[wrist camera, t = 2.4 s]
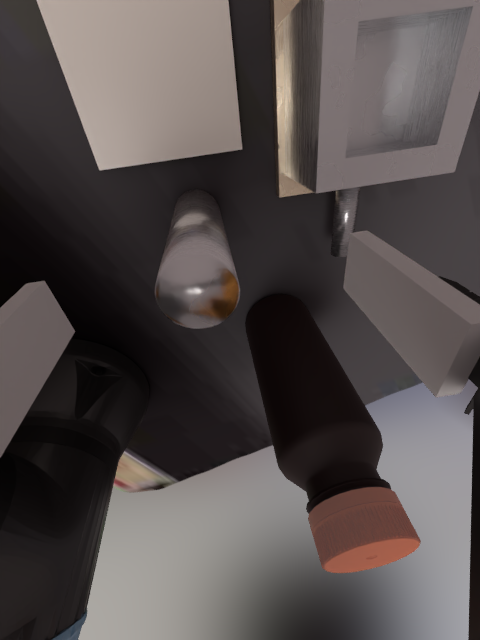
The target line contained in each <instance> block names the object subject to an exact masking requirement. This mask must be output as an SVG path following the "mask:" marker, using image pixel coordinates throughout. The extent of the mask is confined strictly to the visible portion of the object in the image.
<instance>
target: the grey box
mask: <svg viewBox="0 0 480 640" xmlns="http://www.w3.org/2000/svg"><path fill="white" fill-rule="evenodd" d="M270 19H271V49H272V78H273V107H274V137H275V166H276V195H277V196H278V197H279V198H280V197H287V196H293V195H300V194H306V193H313V192H314V193H322V192H328V191H335V190H336V197H335V209H334V220H333V232H332V244H331V255H333V256H336V257H347V254H348V245H349V237H350V233H354V230H355V223H356V215H357V208H358V200H359V192H360V187H361V186H367V185H374V184H380V183H387V182H393V181H400V180H406V179H413V178H419V177H426V176H432V175H438V174H445V173H451V172H455V169H456V165H457V162H458V159H459V156H460V152H461V149H462V146H463V143H464V139H465V136H466V133H467V130H468V126H469V123H470V120H471V117H472V113H473V110H474V107H475V104H476V100H477V97H478V94H479V91H480V0H270Z"/></svg>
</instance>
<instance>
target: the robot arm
mask: <svg viewBox="0 0 480 640" xmlns="http://www.w3.org/2000/svg"><path fill="white" fill-rule="evenodd" d="M343 289H344V290H345V291H346V292H347V293H348V295H349V296H350V297H351V298H352V299H353V301H354V302H355V303H356V304H357V305H358V306H359V308H360V309H361V310H362V311H363V312H364V313H365V315H366V316H367V317H368V318H369V319H370V321H371V322H372V323H373V324H374V325H375V326H376V328H377V329H378V330H379V331H380V332H381V333H382V335H383V336H384V337H385V338H386V339H387V341H388V342H389V343H390V344H391V345H392V346H393V348H394V349H395V350H396V351H397V352H398V353H399V355H400V356H401V357H402V358H403V359H404V360H405V362H406V363H407V364H408V365H409V366H410V368H411V369H412V370H413V371H414V372H415V373H416V375H417V376H418V377H419V378H420V379H421V380H422V382H423V383H424V384H425V385H426V386H427V388H428V389H429V390H430V391H431V392H432V393H433V395H434V396H435V397H441V396H447V395H453V394H459V393H461V392H462V390H463V388H464V386H465V384H466V383H467V381H468V379H470V380H471V381H472V382H473V383H474V384H475V385H476V386H477V387H478V390H477V391H476V393H475V395H474V396H473V398H472V400H471V401H470V403H469V404H468V406H467V408H466V410H465V412H464V413H465V414H468V415H469V413H470V412H471V410H472V409H474V416H473V417H474V419H473V462H472V465H473V466H472V507H471V508H472V509H471V554H470V556H471V557H470V600H469V601H470V602H469V640H480V297H479V296H477V295H476V294H474V293H473V292H469V291H470V290H468V289H466V288H465V287H463V286H462V285H460V284H459V283H457V282H454V281H452V280H449V279H446V278H443V277H440V276H439V277H437V276H436V275H434V274H433V273H431V272H430V271H428V270H426V269H425V268H423V267H422V266H420V265H419V264H417V263H416V262H414V261H413V260H411V259H410V258H408V257H407V256H405V255H404V254H402V253H401V252H399V251H398V250H396V249H395V248H393V247H392V246H390V245H389V244H387V243H386V242H384V241H383V240H381V239H379V238H378V237H376V236H375V235H373V234H372V233H370V232H369V231H361V232H354V233H350V237H349V245H348V254H347V262H346V270H345V278H344V286H343ZM74 333H75V330H74V329H73V327H72V325H71V324H70V322H69V320H68V319H67V317H66V315H65V314H64V312H63V310H62V309H61V307H60V305H59V304H58V302H57V301H56V299H55V297H54V296H53V294H52V292H51V291H50V289H49V287H48V286H47V284H46V282H45V281H39V282H33V283H27V284H25V285H24V286H23V287H22V288H21V289H20V290H19V291H18V292H17V293H16V294H15V295H13V296H12V297H11V298H10V299H9V300H8V301H7V302H6V303H5V304H4V305H3V306H2V307H1V308H0V640H78V637H79V634H80V631H81V627H82V625H83V624H84V622H85V619H86V616H87V604H88V599H89V595H90V590H91V585H92V581H93V576H94V571H95V567H96V562H97V557H98V553H99V548H100V544H101V539H102V534H103V530H104V525H105V521H106V516H107V511H108V507H109V502H110V497H111V493H112V488H113V484H114V479H115V475H116V470H117V466H118V462H119V459H120V457H121V456H122V454H123V452H124V451H125V449H126V447H127V446H128V444H129V442H130V441H131V439H132V437H133V435H134V434H135V432H136V430H137V428H138V426H139V425H140V423H141V422H142V420H143V418H144V416H145V413H146V410H147V405H148V399H149V384H148V381H147V379H146V377H145V375H144V373H143V372H142V370H141V369H140V368H139V367H138V366H137V365H136V364H135V363H134V362H133V361H132V360H130V359H129V358H128V357H126V356H125V355H123V354H122V353H120V352H118V351H116V350H114V349H112V348H109V347H107V346H104V345H101V344H98V343H95V342H90V341H86V340H79V339H71V338H72V336H73V334H74Z"/></svg>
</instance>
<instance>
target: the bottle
mask: <svg viewBox="0 0 480 640" xmlns="http://www.w3.org/2000/svg"><path fill="white" fill-rule="evenodd" d="M246 333H247V337H248V341H249V345H250V349H251V354H252V358H253V362H254V366H255V371H256V375H257V379H258V383H259V387H260V392H261V396H262V400H263V404H264V408H265V413H266V417H267V421H268V425H269V429H270V434H271V438H272V442H273V446H274V450H275V454H276V459H277V463H278V466H279V468H280V470H281V471H282V473H283V474H284V476H285V477H286V478H287V479H288V480H290V481H291V482H293V483H294V484H296V485H297V486H299V487H300V488H302V489H303V490H305V491H306V492H307V496H308V499H309V502H308V503H307V508H306V509H307V512H308V513H309V518H308V520H309V523H310V527H311V531H312V534H313V537H314V541H315V544H316V548H317V551H318V555H319V558H320V562H321V565H322V568H324V569H325V570H326V571H328V572H333V573H348V572H357V571H362V570H367V569H372V568H375V567H379V566H382V565H385V564H388V563H391V562H394V561H397V560H399V559H401V558H403V557H405V556H407V555H409V554H410V553H412V552H414V551H415V550H416V549H417V548H418V547H419V543H420V539H419V537H418V535H417V533H416V531H415V529H414V527H413V526H412V524H411V522H410V520H409V518H408V516H407V514H406V513H405V511H404V509H403V507H402V505H401V503H400V501H399V499H398V497H397V495H396V494H395V492H394V491H392V490H391V487H390V484H389V483H388V482H386V481H385V480H383V479H381V478H380V476H379V474H378V472H377V470H376V469H377V465H378V461H379V458H380V455H381V451H382V448H383V443H382V438H381V433H380V431H379V429H378V428H377V426H376V424H375V422H374V421H373V419H372V417H371V416H370V414H369V412H368V410H367V409H366V407H365V405H364V404H363V402H362V400H361V399H360V397H359V395H358V394H357V392H356V390H355V389H354V387H353V385H352V383H351V382H350V380H349V378H348V377H347V375H346V373H345V372H344V370H343V368H342V367H341V365H340V363H339V362H338V360H337V358H336V356H335V355H334V353H333V351H332V350H331V348H330V346H329V345H328V343H327V341H326V340H325V338H324V336H323V335H322V333H321V331H320V329H319V328H318V326H317V324H316V323H315V321H314V319H313V318H312V316H311V314H310V313H309V311H308V309H307V308H306V306H305V305H304V304H303V303H302V302H301V300H299V299H297V298H295V297H293V296H290V295H284V294H279V295H272V296H269V297H267V298H265V299H262V300H261V301H259V302H258V303H257V304H256V305H254V306H253V308H252V309H251V310H250V312H249V313H248V316H247V319H246Z"/></svg>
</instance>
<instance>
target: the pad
mask: <svg viewBox="0 0 480 640" xmlns="http://www.w3.org/2000/svg"><path fill="white" fill-rule="evenodd" d="M37 3H38V6H39V8H40V11H41V14H42V17H43V19H44V22H45V25H46V27H47V30H48V33H49V35H50V38H51V41H52V44H53V46H54V49H55V52H56V54H57V57H58V60H59V62H60V65H61V68H62V71H63V73H64V76H65V79H66V81H67V84H68V87H69V90H70V92H71V95H72V98H73V100H74V103H75V106H76V108H77V111H78V114H79V117H80V119H81V122H82V125H83V127H84V130H85V133H86V135H87V138H88V141H89V144H90V146H91V149H92V152H93V154H94V157H95V160H96V162H97V165H98V168H99V171H100V170H107V169H113V168H120V167H127V166H134V165H141V164H147V163H154V162H161V161H168V160H174V159H181V158H188V157H195V156H202V155H208V154H215V153H222V152H229V151H236V150H242V140H241V129H240V118H239V108H238V97H237V86H236V76H235V65H234V54H233V44H232V33H231V22H230V12H229V1H228V0H37Z"/></svg>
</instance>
